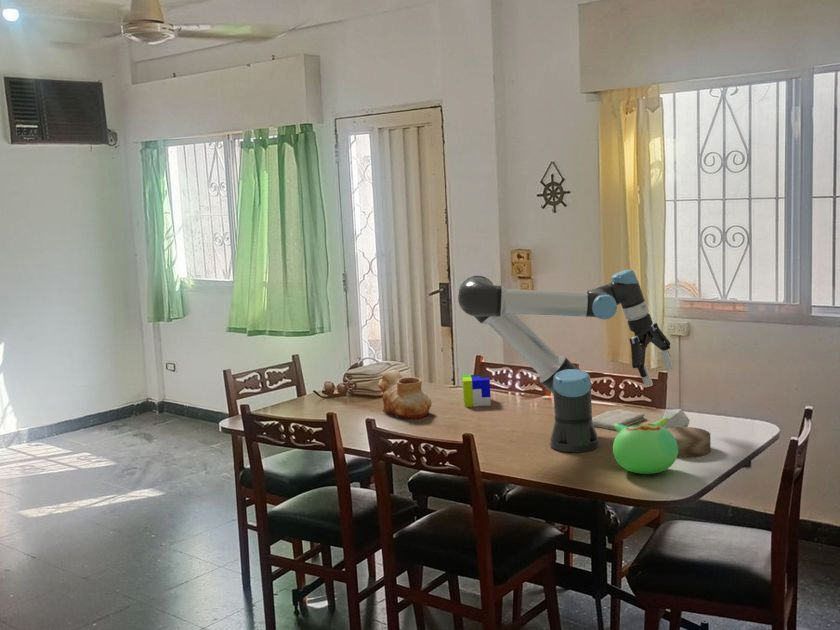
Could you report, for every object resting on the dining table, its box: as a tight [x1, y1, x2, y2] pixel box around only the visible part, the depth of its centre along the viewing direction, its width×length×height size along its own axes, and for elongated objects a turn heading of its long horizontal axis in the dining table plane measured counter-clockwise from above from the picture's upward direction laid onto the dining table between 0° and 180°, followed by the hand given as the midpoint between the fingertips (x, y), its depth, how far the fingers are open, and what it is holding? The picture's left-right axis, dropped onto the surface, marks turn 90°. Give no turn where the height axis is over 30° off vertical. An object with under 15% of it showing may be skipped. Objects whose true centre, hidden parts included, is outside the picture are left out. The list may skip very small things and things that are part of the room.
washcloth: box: [592, 408, 646, 431], centre depth 311 cm, size 12×18×3 cm, turn 135°
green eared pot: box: [612, 417, 678, 475], centre depth 259 cm, size 18×17×15 cm
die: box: [661, 408, 691, 429], centre depth 294 cm, size 8×9×10 cm
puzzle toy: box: [461, 373, 492, 408], centre depth 349 cm, size 10×10×10 cm
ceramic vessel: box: [377, 369, 433, 420], centre depth 342 cm, size 14×26×15 cm, turn 33°
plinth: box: [666, 426, 712, 459], centre depth 277 cm, size 15×15×5 cm
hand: (659, 377), depth 296 cm, fingers open, 13 cm apart
